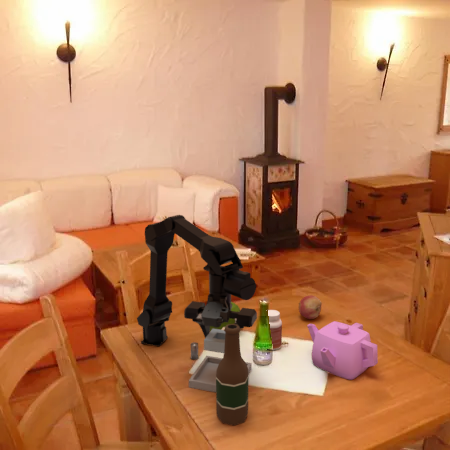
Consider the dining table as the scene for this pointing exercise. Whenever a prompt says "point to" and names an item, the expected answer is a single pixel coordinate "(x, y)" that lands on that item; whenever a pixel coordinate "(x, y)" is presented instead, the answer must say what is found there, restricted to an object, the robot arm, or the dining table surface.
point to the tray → (208, 374)
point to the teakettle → (342, 349)
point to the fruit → (310, 307)
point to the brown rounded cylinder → (194, 350)
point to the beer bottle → (232, 380)
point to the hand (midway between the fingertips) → (220, 342)
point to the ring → (215, 341)
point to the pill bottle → (275, 328)
